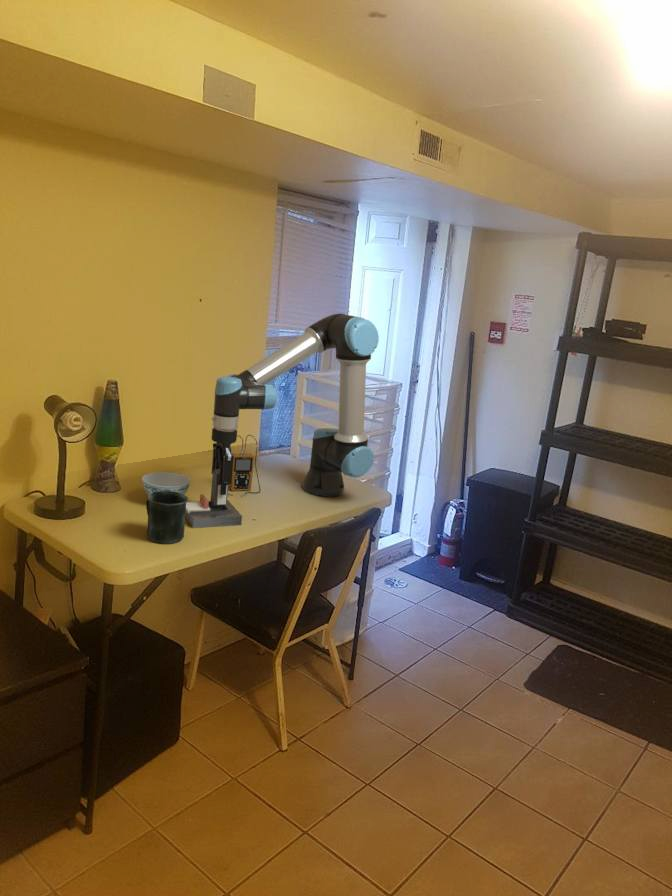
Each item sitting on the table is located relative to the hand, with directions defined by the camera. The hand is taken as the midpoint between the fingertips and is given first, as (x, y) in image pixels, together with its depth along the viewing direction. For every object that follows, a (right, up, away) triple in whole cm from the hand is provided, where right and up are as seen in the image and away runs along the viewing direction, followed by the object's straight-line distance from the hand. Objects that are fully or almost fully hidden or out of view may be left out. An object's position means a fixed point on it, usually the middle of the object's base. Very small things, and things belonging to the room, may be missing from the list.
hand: (218, 501), depth 215 cm
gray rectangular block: (0, -1, 0) cm, 1 cm away
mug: (-13, -9, -18) cm, 24 cm away
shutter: (-6, -2, -3) cm, 7 cm away
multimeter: (+4, +1, +25) cm, 26 cm away
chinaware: (-19, -1, +8) cm, 21 cm away
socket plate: (-2, -5, -1) cm, 6 cm away
